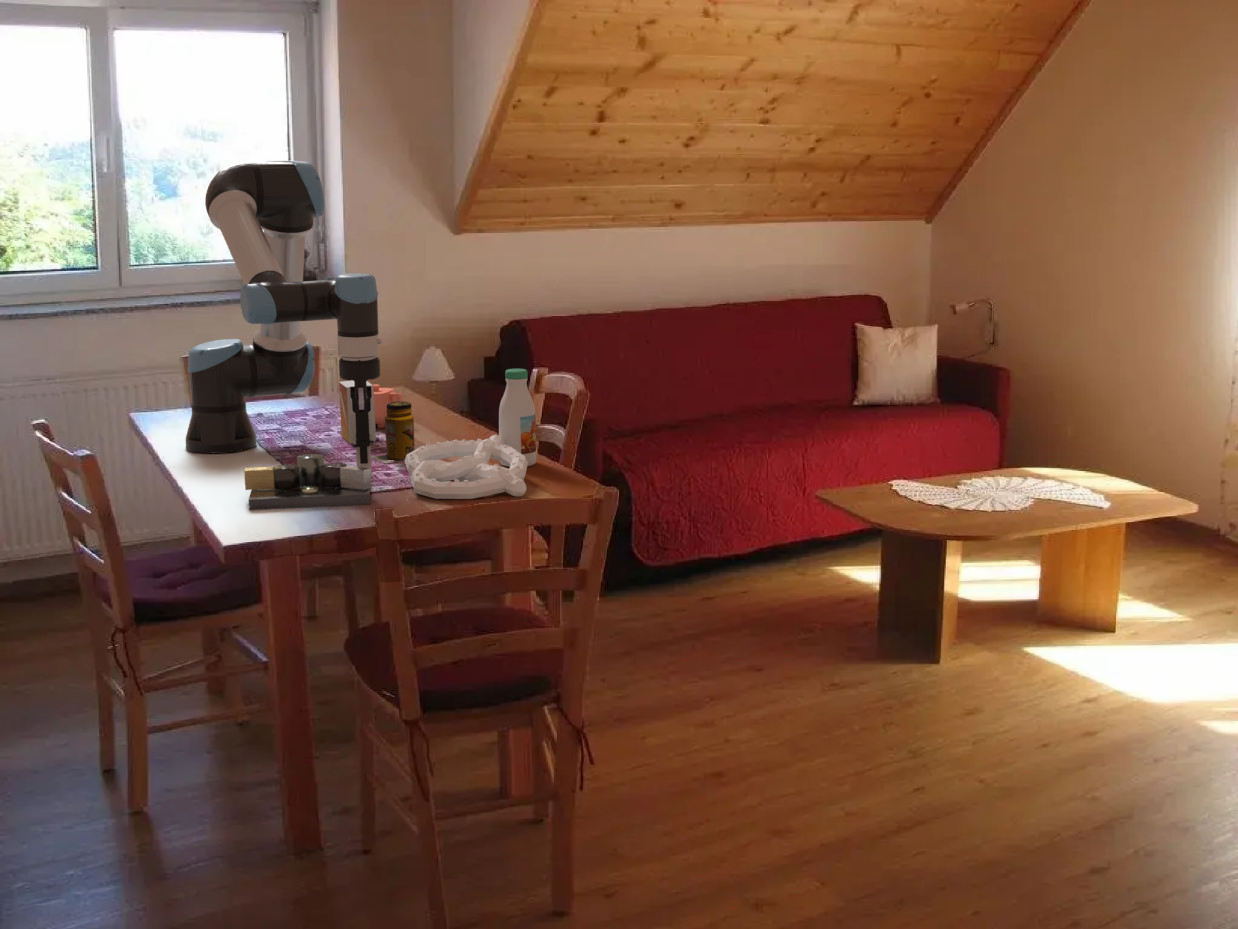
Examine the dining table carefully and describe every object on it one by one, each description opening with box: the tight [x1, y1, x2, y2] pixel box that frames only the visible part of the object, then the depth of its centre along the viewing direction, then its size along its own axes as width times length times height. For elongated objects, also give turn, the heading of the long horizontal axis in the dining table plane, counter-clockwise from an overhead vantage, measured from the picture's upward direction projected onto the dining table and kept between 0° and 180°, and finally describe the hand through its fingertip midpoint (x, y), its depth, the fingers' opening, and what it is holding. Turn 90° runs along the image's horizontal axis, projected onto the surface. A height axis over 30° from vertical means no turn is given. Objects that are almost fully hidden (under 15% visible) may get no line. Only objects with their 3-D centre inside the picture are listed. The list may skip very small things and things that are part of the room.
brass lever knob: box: [243, 464, 300, 491], centre depth 266 cm, size 5×10×4 cm, turn 100°
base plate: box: [248, 453, 371, 511], centre depth 267 cm, size 15×22×7 cm
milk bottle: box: [498, 368, 537, 468], centre depth 293 cm, size 8×8×20 cm
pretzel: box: [404, 434, 528, 500], centre depth 277 cm, size 28×24×6 cm
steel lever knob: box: [320, 462, 372, 490], centre depth 267 cm, size 5×10×4 cm, turn 67°
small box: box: [338, 380, 377, 445], centre depth 317 cm, size 8×6×13 cm
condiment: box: [371, 401, 416, 465], centre depth 299 cm, size 7×8×12 cm
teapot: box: [372, 383, 404, 429], centre depth 334 cm, size 12×12×10 cm
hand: (364, 478), depth 268 cm, fingers closed
